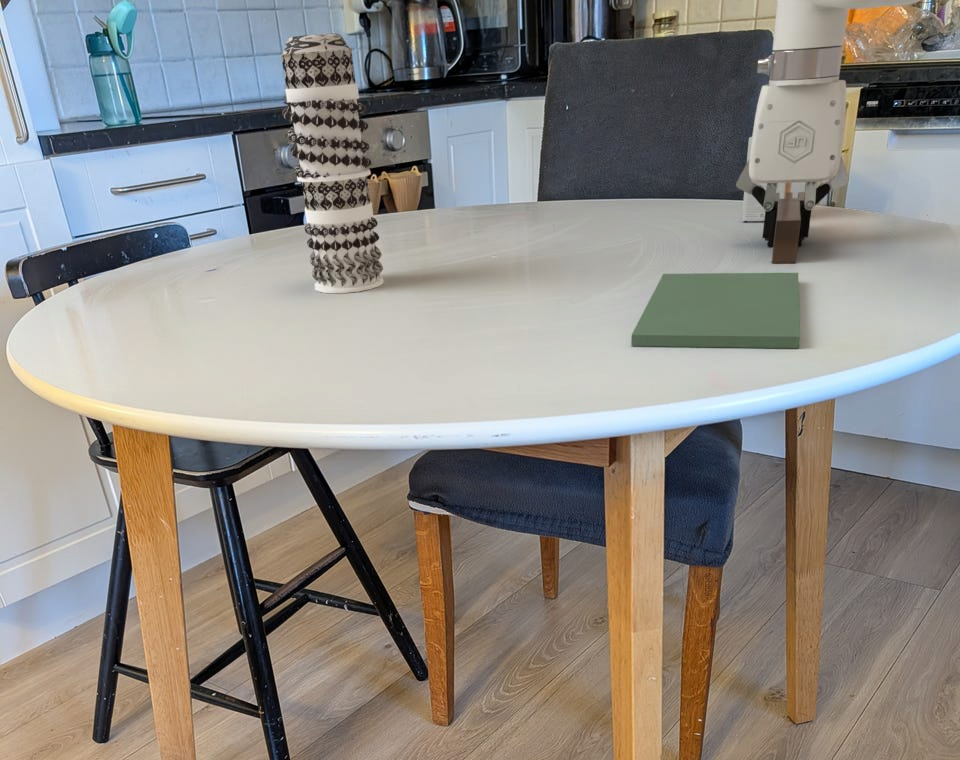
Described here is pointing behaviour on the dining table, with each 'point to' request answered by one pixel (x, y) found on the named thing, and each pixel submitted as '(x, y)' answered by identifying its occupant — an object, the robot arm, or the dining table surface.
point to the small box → (752, 206)
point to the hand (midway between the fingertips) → (784, 242)
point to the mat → (722, 311)
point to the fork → (787, 228)
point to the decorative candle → (331, 162)
